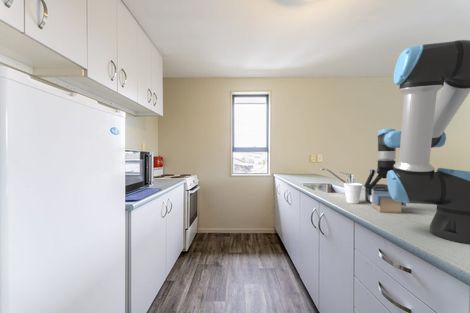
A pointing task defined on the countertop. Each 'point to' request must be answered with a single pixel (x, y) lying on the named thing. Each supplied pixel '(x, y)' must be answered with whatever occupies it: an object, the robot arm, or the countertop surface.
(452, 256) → the countertop surface
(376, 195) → the lid
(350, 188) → the cup
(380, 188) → the small box
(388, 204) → the tray
